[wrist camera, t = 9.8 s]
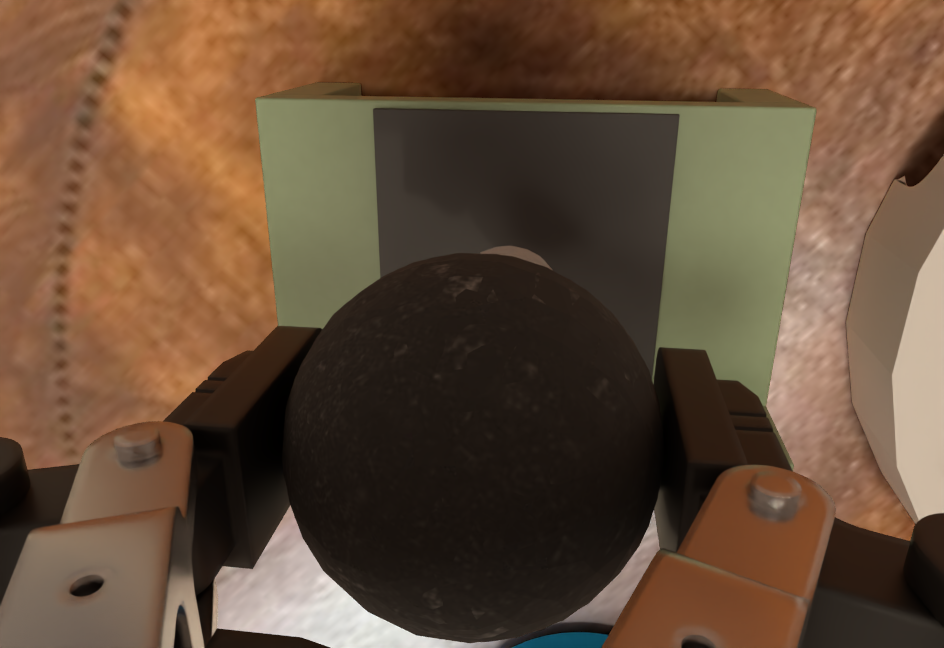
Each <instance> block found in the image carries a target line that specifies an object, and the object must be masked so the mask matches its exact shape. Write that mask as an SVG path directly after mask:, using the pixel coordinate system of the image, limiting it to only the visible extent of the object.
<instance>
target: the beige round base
mask: <svg viewBox="0 0 944 648" xmlns="http://www.w3.org/2000/svg"><path fill="white" fill-rule="evenodd" d="M846 331H847V344H848V358H849V371H850V384H851V398H852V404H853V407H854V409H855V411H856V414H857V416H858V418H859V421H860V423H861V426H862V428H863V430H864V433H865V435H866V437H867V440H868V442H869V445H870V447H871V449H872V452H873V454H874V456H875V459H876V461H877V464H878V466H879V468H880V471H881V473H882V474H883V476H884V477H885V479H886V480H887V482H888V483H889V485H890V486H891V488H892V489H893V491H894V492H895V494H896V495H897V497H898V498H899V500H900V501H901V503H902V504H903V506H904V507H905V509H906V510H907V512H908V513H909V515H910V516H911V518H912V519H913V521H914V523H915V524H916V523H917V522H918V521H919V520H920V519H922V518H924V517H926V516H928V515H932V514H936V513H944V155H943V156H942V158H941V159H940V160H939V162H938V163H937V165H936V166H935V167H934V168H933V169H932V171H931V172H930V173H929V174H928V175H927V176H926V177H925V178H924V179H923V180H922V181H921V182H920V183H918V184H917V185H915V186H913V187H908V186H907V184H906V179H905V176H903V177H902V178H900V179H895V180H894V181H893V183H892V185H891V187H890V188H889V190H888V192H887V194H886V196H885V198H884V200H883V202H882V204H881V206H880V208H879V209H878V211H877V213H876V215H875V217H874V219H873V221H872V223H871V225H870V227H869V229H868V230H867V232H866V236H865V240H864V244H863V249H862V253H861V258H860V262H859V266H858V271H857V275H856V280H855V284H854V289H853V293H852V297H851V302H850V306H849V311H848V315H847V319H846Z"/></svg>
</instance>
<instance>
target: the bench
mask: <svg viewBox="0 0 944 648" xmlns="http://www.w3.org/2000/svg"><path fill="white" fill-rule="evenodd" d="M255 102H256V111H257V121H258V131H259V141H260V151H261V161H262V171H263V181H264V190H265V200H266V210H267V220H268V230H269V240H270V250H271V260H272V269H273V279H274V289H275V299H276V309H277V319H278V326H297V327H315V328H321V329H323V328H324V327H325V325H326V324H327V322H328V321H329V320H330V318H331V317H332V315H333V314H334V313H335V312H337V311H338V310H339V309H340V308H341V307H342V306H343V305H344V304H346V303H347V302H348V301H350V300H351V299H352V298H353V297H355V296H356V295H357V294H358V293H359V292H361V291H362V290H364V289H365V288H367V287H368V286H369V285H371V284H372V283H374V282H375V281H377V280H378V279H380V278H381V277H383V276H384V275H387V274H389V273H391V272H393V271H395V270H397V269H399V268H402V267H404V266H407V265H409V264H411V263H413V262H417V261H421V260H426V259H429V258H432V257H440V256H445V255H450V254H455V253H481V252H483V251H486V250H488V249H492V248H494V247H500V246H515V247H519V248H523V249H528V250H529V251H531V252H533V253H535V254H537V255H539V256H540V257H541V258H542V259H543V260H545V262H546V263H547V264H548V265H549V266H550V268H551V269H552V270H553V271H554V272H556V273H558V274H560V275H562V276H564V277H566V278H568V279H570V280H572V281H573V282H574V283H576V284H577V285H579V286H581V287H582V288H584V289H586V290H587V291H588V292H590V293H591V294H592V295H593V296H594V297H595V298H596V299H598V300H599V301H600V302H601V303H602V304H603V305H604V306H605V307H606V308H607V309H608V310H610V311H611V312H612V313H613V314H614V316H615V317H616V318H617V320H618V321H619V322H620V324H621V325H622V326H623V327H624V329H625V330H626V332H627V333H628V335H629V336H630V337H631V339H632V340H633V341H634V343H635V345H636V347H637V349H638V351H639V353H640V354H641V356H642V358H643V360H644V361H645V363H646V366H647V367H648V369H649V372H650V375H651V378H652V381H653V384H654V375H655V365H656V358H657V353H658V349H659V347H666V348H684V349H701V350H706V352H707V355H708V357H709V360H710V363H711V366H712V368H713V371H714V374H715V376H716V379H719V380H736V381H739V382H740V383H742V384H743V385H744V386H745V387H747V388H748V389H749V390H751V391H752V392H753V393H754V394H756V395H757V396H758V397H759V399H760V401H761V403H762V406H763V408H764V410H765V412H766V418H769V421H770V423H771V425H772V427H773V432H775V434H776V436H777V438H778V440H779V442H780V444H781V447H782V449H783V451H784V453H785V455H786V457H787V459H788V462H789V464H790V466H791V468H792V470H793V467H794V465H793V462H792V460H791V458H790V456H789V454H788V452H787V450H786V448H785V445H784V443H783V441H782V439H781V437H780V435H779V433H778V431H777V429H776V427H775V424H774V422H773V420H772V418H771V416H770V414H769V412H768V410H767V408H766V403H767V397H768V391H769V385H770V380H771V374H772V368H773V362H774V356H775V350H776V344H777V339H778V333H779V327H780V321H781V315H782V309H783V304H784V298H785V292H786V286H787V280H788V274H789V268H790V263H791V257H792V251H793V245H794V239H795V233H796V227H797V222H798V216H799V210H800V204H801V198H802V192H803V186H804V181H805V175H806V169H807V163H808V157H809V151H810V145H811V140H812V134H813V128H814V122H815V116H816V108H814V107H812V106H809V105H807V104H804V103H801V102H799V101H796V100H793V99H791V98H788V97H786V96H783V95H781V94H778V93H776V92H773V91H771V90H768V89H722V88H721V89H719V90H718V93H717V101H716V102H689V101H630V100H572V99H514V98H455V97H397V96H361V84H360V83H326V82H317V83H313V84H309V85H305V86H301V87H297V88H293V89H289V90H285V91H281V92H277V93H273V94H269V95H265V96H262V97H258V98H256V100H255Z"/></svg>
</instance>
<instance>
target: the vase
mask: <svg viewBox="0 0 944 648" xmlns="http://www.w3.org/2000/svg"><path fill="white" fill-rule="evenodd" d="M607 637H608V635H607V634H600V633H591V632H567V633H557V634H551V635H546V636H542V637H538V638H534V639H531V640H528V641H526V642H523V643H521V644H518V645H516V646H514V647H512V648H601V647H602V645H603V644H604V642H605V640H606V639H607Z"/></svg>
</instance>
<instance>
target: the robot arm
mask: <svg viewBox="0 0 944 648" xmlns="http://www.w3.org/2000/svg"><path fill="white" fill-rule="evenodd" d="M321 331H322V329H321V328H315V327H297V326H277V327H276V328H275V329H274V330H273V331H272V332H271V333H270V334H269V335H268V336H267V337H266V339H265V340H264V341H263V342H262V343H261V344H260V345H259V346H258V347H257V348H256V349H255V350H254V351H245V352H243V353H241V354H239V355H237V356H235V357H233V358H231V359H229V360H227V361H225V362H223V363H222V364H221V365H220V366H219V367H218V368H217V369H216V370H215V371H214V372H213V373H212V374H211V375H210V376H209V377H208V380H205V381H203V382H202V383H201V384H200V385H199V386H198V387H197V388H196V392H192V393H191V394H190V395H189V396H188V397H187V398H186V399H185V400H184V401H183V402H182V403H181V404H180V405H179V406H178V407H177V408H176V409H175V410H174V411H173V412H172V413H171V414H170V415H169V416H168V417H167V418H166V419H165V420H164V421H163V422H162V421H158V422H143V423H137V424H133V425H128V426H125V427H122V428H119V429H116V430H113V431H111V432H109V433H107V434H105V435H103V436H101V437H99V438H98V439H96V440H95V441H94V442H93V443H91V444H90V445H89V446H88V447H87V449H86V450H85V452H84V454H83V456H82V459H81V462H80V464H77V465H69V466H59V467H50V468H41V469H32V470H27V466H26V463H25V459H24V455H23V451H22V448H21V445H20V444H19V443H18V442H16V441H14V440H12V439H8V438H3V437H0V648H330V647H327V646H324V645H321V644H318V643H316V642H313V641H310V640H307V639H304V638H300V637H291V636H282V635H272V634H263V633H254V632H244V631H235V630H225V629H217V623H218V592H217V586H216V579H215V577H216V575H217V574H218V572H219V570H220V569H221V567H222V566H228V567H239V568H249V569H253V567H254V566H255V564H256V562H257V561H258V559H259V557H260V556H261V554H262V552H263V550H264V549H265V547H266V545H267V544H268V542H269V540H270V539H271V537H272V535H273V533H274V532H275V530H276V528H277V527H278V525H279V523H280V522H281V520H282V518H283V516H284V515H285V513H286V511H287V510H288V508H289V506H290V502H289V497H288V492H287V486H286V482H285V479H284V475H283V463H282V449H283V431H284V422H285V409H286V404H287V401H288V398H289V395H290V392H291V389H292V385H293V382H294V379H295V377H296V375H297V373H298V371H299V368H300V366H301V364H302V362H303V360H304V359H305V357H306V355H307V354H308V352H309V350H310V349H311V347H312V345H313V343H314V341H315V340H316V338H317V337H318V335H319V334H320V332H321ZM654 387H655V390H656V393H657V396H658V399H659V403H660V413H661V421H662V429H663V437H664V455H665V457H664V464H663V470H662V477H661V484H660V489H659V493H658V499H657V502H656V505H655V507H654V512H655V518H656V525H657V532H658V539H659V545H660V550H659V551H658V552H657V553H656V555H655V556H654V558H653V560H652V561H651V563H650V565H649V567H648V568H647V570H646V572H645V573H644V575H643V577H642V579H641V580H640V582H639V584H638V585H637V587H636V589H635V591H634V592H633V594H632V596H631V597H630V599H629V601H628V603H627V604H626V606H625V608H624V609H623V611H622V613H621V615H620V616H619V618H618V620H617V621H616V623H615V625H614V627H613V628H612V630H611V632H610V633H609V635H608V637H607V639H606V640H605V642H604V644H603V645H602V647H601V648H944V513H936V514H932V515H928V516H926V517H924V518H922V519H920V520H919V521H918V522H917V523H916V525H915V527H914V530H913V533H912V537H911V541H907V540H903V539H899V538H895V537H892V536H888V535H884V534H880V533H877V532H873V531H869V530H866V529H863V528H859V527H856V526H854V525H851V524H848V523H846V522H844V521H841V520H839V519H837V518H835V511H836V508H835V504H834V502H833V500H832V498H831V496H830V495H829V494H828V493H827V492H826V491H825V490H824V489H823V488H822V487H821V486H819V485H818V484H816V483H815V482H813V481H812V480H810V479H808V478H806V477H804V476H802V475H800V474H797V473H795V472H793V470H792V468H791V466H790V464H789V462H788V459H787V457H786V455H785V453H784V451H783V449H782V447H781V444H780V442H779V440H778V438H777V436H776V434H775V432H773V427H772V425H771V423H770V421H769V418H766V412H765V410H764V408H763V406H762V403H761V401H760V399H759V397H758V396H757V395H756V394H754V393H753V392H752V391H751V390H749V389H748V388H747V387H745V386H744V385H743V384H742V383H740V382H739V381H736V380H719V379H716V376H715V374H714V371H713V368H712V366H711V363H710V360H709V357H708V355H707V352H706V350H701V349H684V348H666V347H659V349H658V353H657V358H656V365H655V375H654Z"/></svg>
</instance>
